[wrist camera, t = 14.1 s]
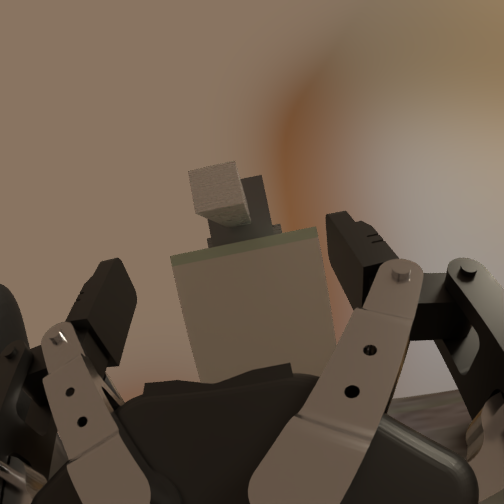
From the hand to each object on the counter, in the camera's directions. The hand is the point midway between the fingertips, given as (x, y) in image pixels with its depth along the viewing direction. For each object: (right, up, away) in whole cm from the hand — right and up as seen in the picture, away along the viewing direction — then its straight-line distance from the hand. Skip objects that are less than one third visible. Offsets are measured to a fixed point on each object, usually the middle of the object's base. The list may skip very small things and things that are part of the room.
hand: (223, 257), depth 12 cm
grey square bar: (0, +1, +15) cm, 15 cm away
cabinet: (+7, -30, +26) cm, 40 cm away
